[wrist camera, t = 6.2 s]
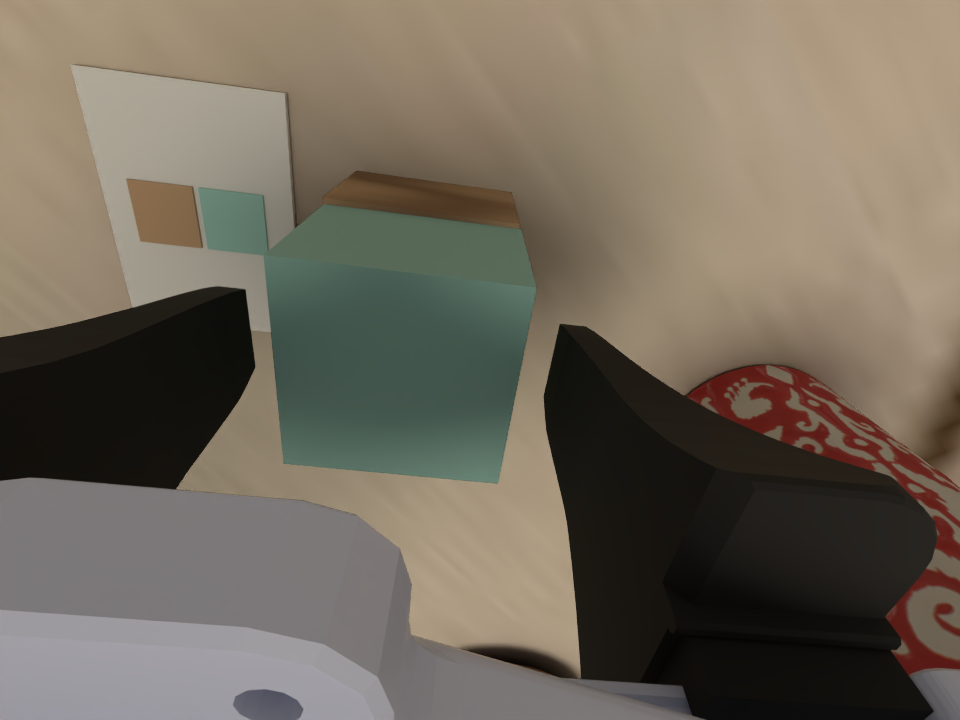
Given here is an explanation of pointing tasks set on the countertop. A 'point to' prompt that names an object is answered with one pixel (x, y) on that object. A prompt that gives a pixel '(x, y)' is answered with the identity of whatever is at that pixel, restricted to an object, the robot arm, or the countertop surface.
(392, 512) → the countertop surface
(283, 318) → the teal block
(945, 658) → the mug
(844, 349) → the countertop surface
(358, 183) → the walnut block
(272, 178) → the page
